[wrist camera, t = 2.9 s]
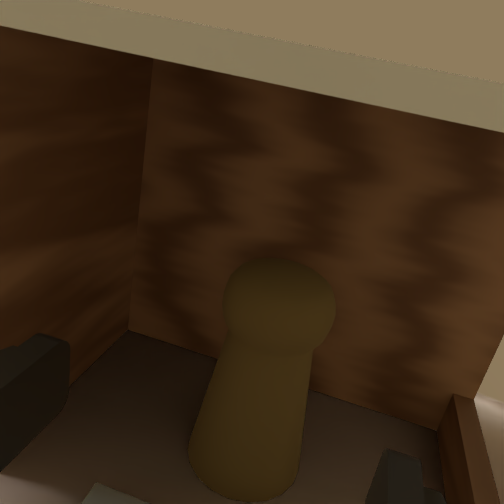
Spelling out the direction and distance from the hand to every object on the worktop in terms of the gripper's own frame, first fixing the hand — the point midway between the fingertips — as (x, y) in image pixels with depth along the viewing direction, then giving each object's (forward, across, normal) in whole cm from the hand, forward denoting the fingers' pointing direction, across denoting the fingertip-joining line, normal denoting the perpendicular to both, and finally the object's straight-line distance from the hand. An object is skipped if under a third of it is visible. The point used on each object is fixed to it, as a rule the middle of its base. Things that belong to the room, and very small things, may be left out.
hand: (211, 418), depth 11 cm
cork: (+11, 0, +12) cm, 16 cm away
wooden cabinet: (+12, 0, +11) cm, 16 cm away
